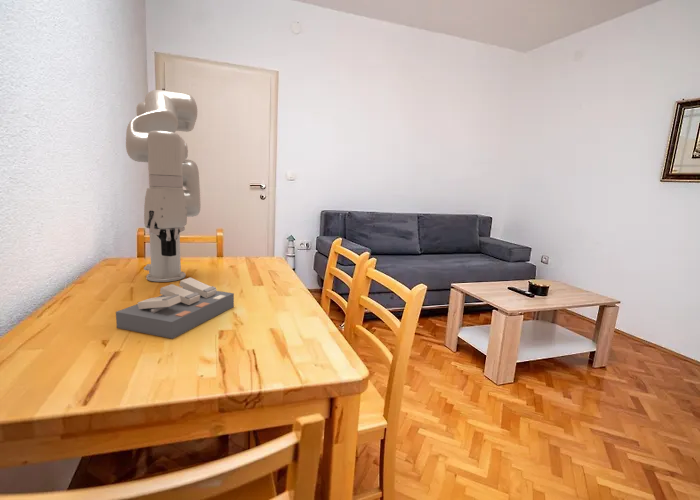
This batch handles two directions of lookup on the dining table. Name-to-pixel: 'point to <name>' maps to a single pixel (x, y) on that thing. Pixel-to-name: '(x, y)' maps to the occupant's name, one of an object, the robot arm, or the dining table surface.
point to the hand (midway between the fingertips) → (168, 255)
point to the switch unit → (173, 315)
